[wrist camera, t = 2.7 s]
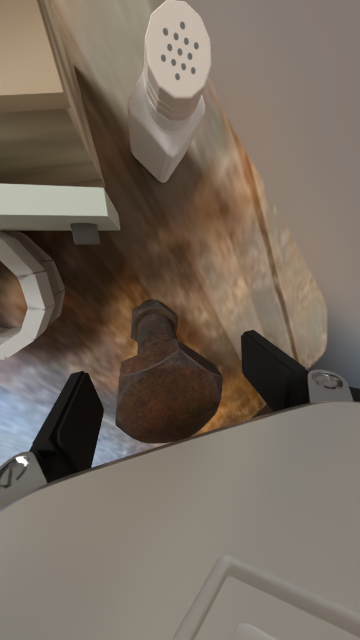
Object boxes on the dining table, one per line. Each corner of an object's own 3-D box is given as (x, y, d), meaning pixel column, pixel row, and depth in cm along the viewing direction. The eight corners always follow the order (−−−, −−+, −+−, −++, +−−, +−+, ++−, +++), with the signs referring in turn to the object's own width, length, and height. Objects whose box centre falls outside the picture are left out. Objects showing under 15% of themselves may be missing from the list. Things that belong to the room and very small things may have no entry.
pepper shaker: (128, 153, 17) (117, 49, 8) (153, 111, 16) (172, -51, 7) (163, 188, 18) (186, 131, 10) (187, 151, 18) (236, 54, 9)
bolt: (181, 308, 23) (244, 393, 9) (157, 338, 24) (183, 456, 10) (143, 280, 21) (155, 336, 7) (118, 313, 22) (85, 422, 8)
